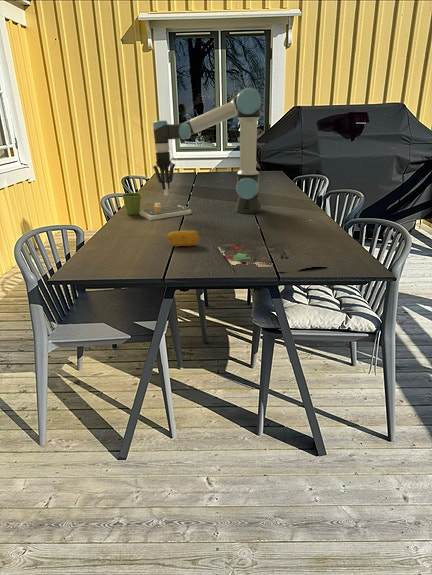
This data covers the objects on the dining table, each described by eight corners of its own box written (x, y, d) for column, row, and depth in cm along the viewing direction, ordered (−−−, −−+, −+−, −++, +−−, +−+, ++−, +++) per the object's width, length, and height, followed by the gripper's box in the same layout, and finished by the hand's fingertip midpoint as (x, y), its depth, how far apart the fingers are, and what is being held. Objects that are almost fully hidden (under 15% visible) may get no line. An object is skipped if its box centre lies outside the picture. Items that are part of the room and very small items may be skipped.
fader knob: (160, 213, 225) (159, 206, 224) (156, 214, 224) (156, 206, 223) (158, 212, 228) (157, 205, 226) (154, 213, 227) (153, 205, 225)
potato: (168, 243, 182) (167, 228, 179) (200, 243, 181) (199, 228, 178) (166, 248, 175) (165, 233, 172) (199, 248, 175) (198, 233, 172)
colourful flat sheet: (239, 279, 144) (239, 274, 143) (216, 249, 175) (216, 245, 174) (327, 269, 151) (327, 264, 150) (290, 242, 182) (290, 238, 181)
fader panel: (191, 213, 233) (190, 203, 230) (150, 220, 220) (149, 209, 218) (179, 208, 245) (178, 198, 242) (139, 214, 233) (138, 204, 230)
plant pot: (139, 216, 229) (137, 196, 224) (120, 215, 231) (117, 196, 226) (146, 211, 239) (145, 192, 235) (128, 211, 242) (126, 192, 237)
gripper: (170, 150, 221) (174, 192, 231) (148, 152, 215) (153, 195, 225) (176, 150, 215) (179, 194, 225) (154, 152, 209) (158, 197, 219)
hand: (166, 195), depth 225 cm, fingers closed
